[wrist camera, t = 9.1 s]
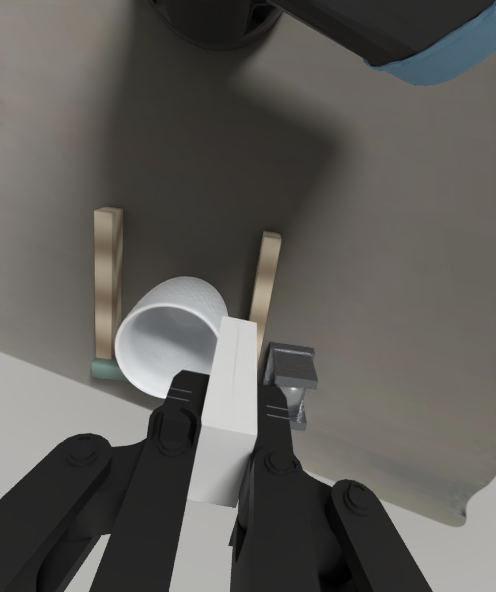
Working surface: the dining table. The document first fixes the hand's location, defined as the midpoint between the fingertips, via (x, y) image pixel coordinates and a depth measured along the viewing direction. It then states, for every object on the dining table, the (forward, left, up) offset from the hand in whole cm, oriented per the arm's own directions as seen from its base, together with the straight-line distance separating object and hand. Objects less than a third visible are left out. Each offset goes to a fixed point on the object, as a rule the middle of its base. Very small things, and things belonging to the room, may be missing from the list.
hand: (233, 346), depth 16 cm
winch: (+20, +9, -29) cm, 36 cm away
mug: (+12, -6, -30) cm, 33 cm away
